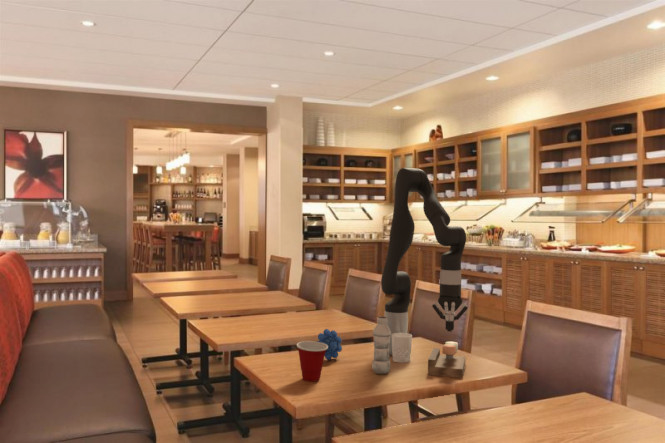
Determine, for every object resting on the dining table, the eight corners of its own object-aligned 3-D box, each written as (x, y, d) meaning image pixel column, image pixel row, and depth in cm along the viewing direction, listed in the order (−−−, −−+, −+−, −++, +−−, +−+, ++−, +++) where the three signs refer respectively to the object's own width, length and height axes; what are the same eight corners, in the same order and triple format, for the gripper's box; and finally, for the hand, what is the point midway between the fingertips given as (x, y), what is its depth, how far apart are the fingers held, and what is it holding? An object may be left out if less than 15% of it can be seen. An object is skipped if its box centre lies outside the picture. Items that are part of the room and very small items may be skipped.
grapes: (322, 364, 216) (322, 332, 216) (312, 360, 222) (313, 329, 221) (347, 360, 222) (348, 329, 222) (338, 356, 228) (338, 326, 228)
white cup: (410, 363, 219) (411, 337, 219) (390, 362, 220) (390, 336, 220) (412, 358, 227) (412, 333, 226) (392, 357, 228) (392, 332, 228)
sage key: (443, 358, 210) (443, 346, 210) (444, 355, 214) (444, 343, 214) (456, 359, 209) (456, 347, 209) (457, 356, 213) (457, 344, 213)
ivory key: (444, 355, 216) (444, 343, 216) (445, 352, 220) (445, 341, 220) (457, 356, 214) (457, 344, 214) (458, 353, 219) (458, 342, 219)
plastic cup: (316, 386, 189) (316, 349, 189) (289, 380, 195) (290, 345, 195) (333, 378, 198) (334, 343, 198) (307, 373, 204) (308, 339, 204)
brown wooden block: (427, 374, 205) (428, 359, 205) (433, 361, 222) (433, 347, 222) (462, 377, 202) (462, 362, 201) (465, 364, 219) (465, 350, 219)
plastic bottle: (392, 371, 208) (393, 316, 207) (387, 376, 201) (388, 319, 201) (374, 369, 210) (375, 315, 209) (369, 374, 203) (370, 318, 203)
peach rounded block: (441, 359, 204) (442, 347, 204) (442, 356, 209) (443, 344, 208) (455, 360, 203) (455, 348, 203) (455, 357, 207) (456, 345, 207)
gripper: (470, 282, 207) (469, 330, 207) (432, 280, 211) (431, 327, 211) (469, 284, 200) (468, 334, 200) (430, 282, 203) (429, 331, 204)
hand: (449, 331), depth 205 cm, fingers closed
